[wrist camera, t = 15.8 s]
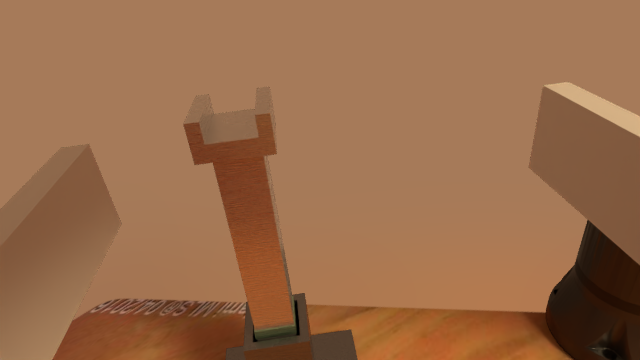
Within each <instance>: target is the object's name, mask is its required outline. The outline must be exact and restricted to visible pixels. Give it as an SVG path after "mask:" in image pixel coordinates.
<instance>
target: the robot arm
mask: <svg viewBox="0 0 640 360" xmlns="http://www.w3.org/2000/svg"><path fill="white" fill-rule="evenodd" d="M529 168H530V169H531V170H532V171H533V172H534V173H536V174H537V175H538V176H539V177H540V178H541V179H542V180H543V181H545V182H546V183H547V184H548V185H549V186H550V187H551V188H553V189H554V190H555V191H556V192H557V193H558V194H559V195H561V196H562V197H563V198H564V199H565V200H566V201H567V202H568V203H570V204H571V205H572V206H573V207H574V208H575V209H576V210H578V211H579V212H580V213H581V214H582V215H583V216H584V217H586V218H587V219H588V221H587V224H586V228H585V231H584V234H583V238H582V241H581V245H580V248H579V251H578V255H577V259H576V262H575V265H574V266H573V267H572V268H571V269H570V270H569V271H568V273H567V274H566V275H565V276H564V277H563V278H562V280H561V281H560V282H559V283H558V284H557V285H556V286H555V287H554V289H553V290H552V292H551V294H550V297H549V300H548V304H547V308H546V320H547V324H548V327H549V329H550V331H551V333H552V335H553V336H554V338H555V339H556V341H557V342H558V343H559V344H560V345H561V347H562V348H563V349H564V350H565V351H566V352H567V353H569V354H570V355H571V356H572V357H573V358H575V359H576V360H640V116H638V115H636V114H634V113H632V112H630V111H627V110H625V109H623V108H621V107H619V106H617V105H615V104H613V103H611V102H609V101H607V100H604V99H603V98H600V97H598V96H596V95H594V94H592V93H590V92H588V91H586V90H584V89H582V88H579V87H578V86H575V85H573V84H571V83H569V82H566V83H558V84H550V85H543V90H542V95H541V101H540V107H539V112H538V118H537V123H536V129H535V135H534V140H533V146H532V152H531V157H530V163H529ZM120 226H121V221H120V218H119V216H118V214H117V211H116V209H115V206H114V204H113V202H112V199H111V197H110V194H109V192H108V189H107V187H106V184H105V182H104V180H103V177H102V175H101V172H100V170H99V167H98V165H97V162H96V160H95V158H94V155H93V153H92V150H91V148H90V145H89V144H86V145H78V146H71V147H63V148H60V149H59V150H58V152H56V153H55V154H54V156H53V157H52V158H50V159H49V160H48V162H47V163H46V164H45V165H44V166H43V167H42V168H41V169H40V170H39V171H38V172H37V173H36V174H35V175H34V176H33V177H32V178H31V179H30V180H29V181H28V182H27V183H26V184H25V185H24V186H23V187H22V188H21V189H20V190H19V191H18V192H17V193H16V194H15V195H14V196H13V197H12V198H11V199H10V200H9V201H8V202H7V203H6V204H5V205H4V206H3V207H2V208H1V209H0V360H53V358H54V356H55V354H56V352H57V350H58V348H59V346H60V344H61V342H62V340H63V338H64V336H65V334H66V332H67V330H68V328H69V326H70V324H71V322H72V320H73V318H74V316H75V314H76V312H77V310H78V308H79V307H80V305H81V302H82V300H83V299H84V297H85V295H86V293H87V291H88V289H89V287H90V285H91V283H92V281H93V279H94V277H95V275H96V273H97V271H98V269H99V267H100V265H101V263H102V261H103V259H104V257H105V256H106V253H107V252H108V249H109V248H110V246H111V244H112V242H113V240H114V238H115V236H116V234H117V232H118V230H119V228H120Z"/></svg>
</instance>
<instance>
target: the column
mask: <svg viewBox="0 0 640 360" xmlns="http://www.w3.org/2000/svg"><path fill="white" fill-rule="evenodd" d="M183 125H184V129H185V132H186V136H187V140H188V143H189V146H190V150H191V154H192V158H193V161H194V165H199V164H206V163H213V166H214V170H215V174H216V178H217V182H218V186H219V190H220V194H221V198H222V202H223V205H224V210H225V213H226V218H227V222H228V225H229V229H230V233H231V237H232V241H233V245H234V249H235V253H236V257H237V261H238V265H239V269H240V273H241V277H242V281H243V285H244V289H245V293H246V297H247V301H248V305H249V309H250V313H251V317H252V320H253V324H254V334H255V338H256V339H257V340H258V342H260V341H266V340H273V339H279V338H286V337H292V336H299V332H298V326H297V320H296V315H295V303H294V297H293V296H292V292H291V286H290V281H289V275H288V269H287V264H286V258H285V253H284V247H283V241H282V235H281V230H280V224H279V219H278V213H277V207H276V201H275V196H274V190H273V184H272V179H271V174H270V167H269V162H268V156H267V155H274V154H277V149H276V148H277V146H276V123H275V117H274V111H273V104H272V99H271V92H270V87H263V88H257V90H256V104H255V109H250V110H242V111H235V112H226V113H219V114H214V113H213V108H212V104H211V100H210V96H209V94H208V95H199V96H196V97H195V99H194V102H193V104H192V106H191V108H190V110H189V113H188V115H187V117H186V119H185V121H184V123H183Z"/></svg>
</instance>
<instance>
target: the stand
mask: <svg viewBox="0 0 640 360" xmlns="http://www.w3.org/2000/svg"><path fill="white" fill-rule="evenodd" d="M292 296H293V297H294V303H295V315H296V320H297V326H298V332H299V336H292V337H286V338H279V339H273V340H266V341H260V342H258V340H257V339H256V338H255V334H254V324H253V320H252V317H251V313H250V309H249V305H248V302H246V316H245V333H244V346H240V347H233V348H227V350H226V360H357V355H356V350H355V346H354V341H353V336H352V332H351V330H344V331H338V332H331V333H325V334H318V335H312V336H311V332H310V325H309V319H308V312H307V306H306V300H305V294H304V293H302V294H295V295H292Z"/></svg>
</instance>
